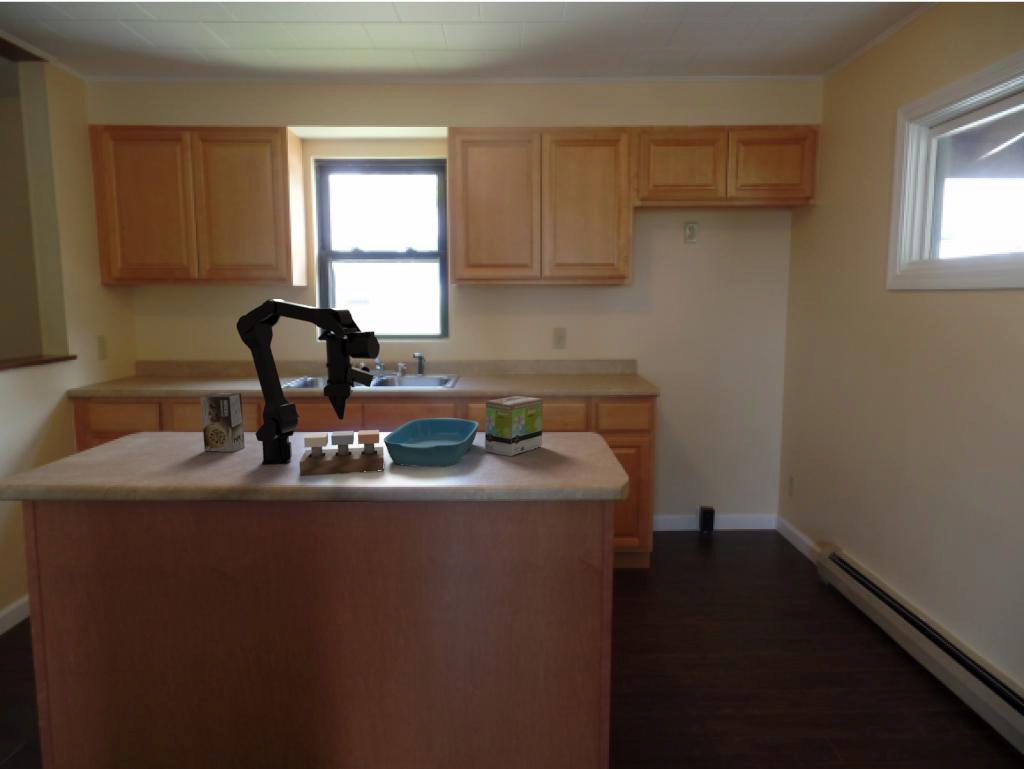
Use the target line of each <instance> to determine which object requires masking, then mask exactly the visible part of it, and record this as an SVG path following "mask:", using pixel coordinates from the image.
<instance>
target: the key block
mask: <svg viewBox="0 0 1024 769" xmlns="http://www.w3.org/2000/svg"><path fill="white" fill-rule="evenodd" d="M348 450H349V455H348V456H338V448H330V449H329V448H327V449H326V448H325V449H323V448H322V457H312V451H311V449H306V450H305V451H304V453H303V454H302V456H301V459H300V460H299V476H321V475H337V474H336V473H341V474H350V473H349V472H360V473H365V472H364V471H378V470H383V471H384V469H383V463H384V446H374V452H375V454H369V455H364V447H350V448H349V447H348ZM378 472H379V471H378Z"/></svg>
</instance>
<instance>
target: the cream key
mask: <svg viewBox="0 0 1024 769" xmlns="http://www.w3.org/2000/svg"><path fill="white" fill-rule="evenodd" d="M328 443H329V433H328V432H319V433H318V432H317V433H316V432H313V433H306V434H305V435H304V437H303V444H304V448H311V449H310V450H311V451H312V457H322V450H323V447H324V448H325V447H327V445H328Z"/></svg>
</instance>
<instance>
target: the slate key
mask: <svg viewBox="0 0 1024 769" xmlns="http://www.w3.org/2000/svg"><path fill="white" fill-rule="evenodd" d="M354 432H355V431H354V430H343V431H332V434H331V435H330V436H331V437H330V438H331V442H330V443H331V446H337V449H338V456H348V455H349V450H348V448H349V446H350V445H354V441H355V435H354V434H355V433H354Z"/></svg>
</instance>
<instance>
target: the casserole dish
mask: <svg viewBox="0 0 1024 769" xmlns="http://www.w3.org/2000/svg"><path fill="white" fill-rule="evenodd" d="M478 429H479V422H478V421H475V420H471V419H470V420H469V419H462V418H456V417H455V418H454V417H435V418H433V417H431V418H419V419H413V420H410V421H407V422H406V423H404V424H402V425H401V426H399V427H398V428H396V429H395V430H393V431H391V432H390V433H388V434H387V435H386V436H384V438H383V442H384V445H385V448H386V450H387V452H388V455H389V457H390V460H392V462H394V463H395V464H396V463H398V464H397V465H399V464H403V465H402V466H407V465H421V466H420V467H447V466H448V465H449V466H451V465H454V464H456V463H458V462H459V461H460V460H461V459H463V457H464V456H465V454H466V453H467V452H468V451H469V449H470V448H471V446H472V445H473V443H474V441H475V438H476V436H477V432H478Z"/></svg>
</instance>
